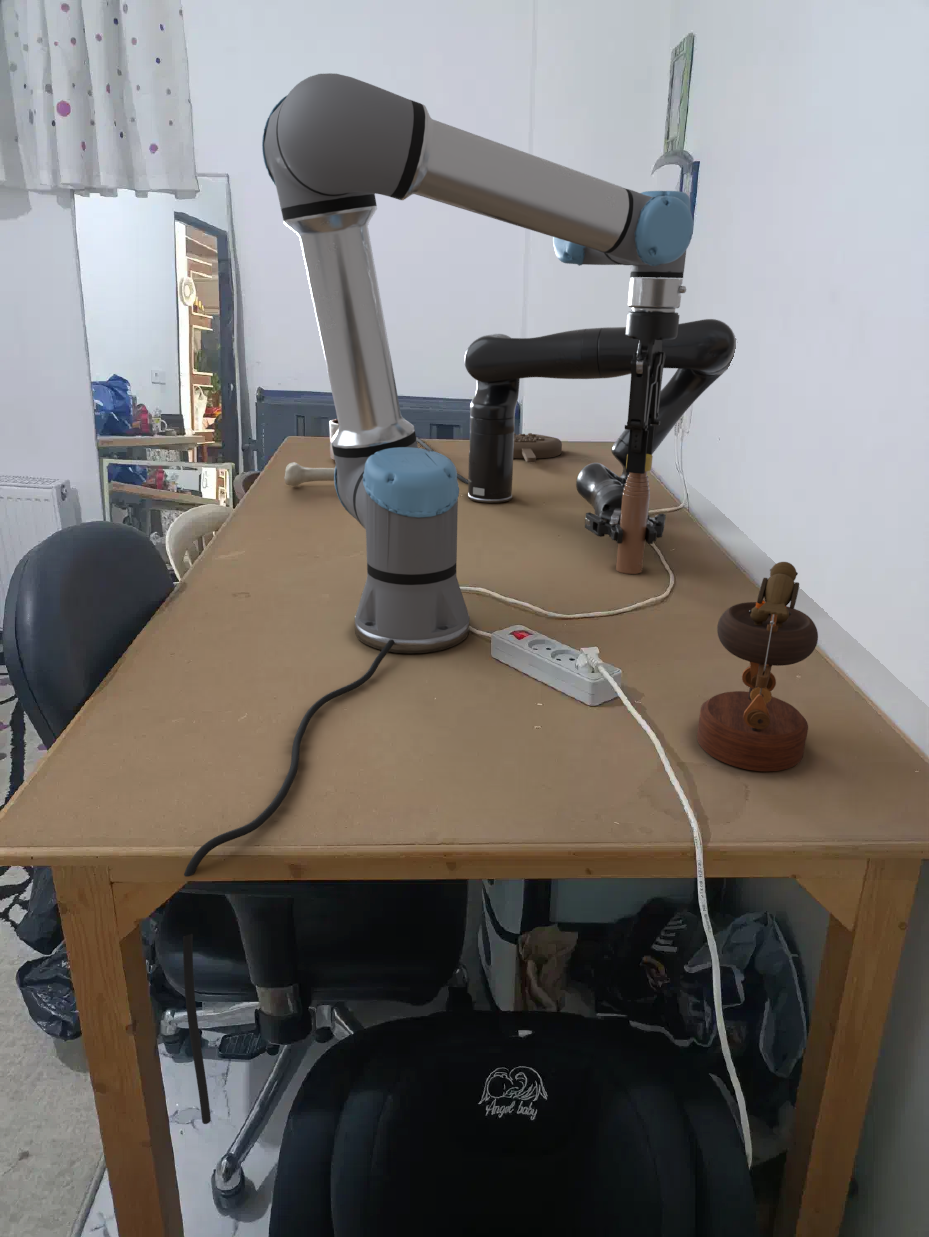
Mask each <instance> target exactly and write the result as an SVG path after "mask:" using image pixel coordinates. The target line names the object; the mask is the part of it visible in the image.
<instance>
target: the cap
mask: <svg viewBox="0 0 929 1237" xmlns="http://www.w3.org/2000/svg"><path fill="white" fill-rule="evenodd" d="M653 456H654V455H653V454H652V455H650V454H646V464H645V472H646V471H647V472H650V471H652V467H653ZM627 457H628V454H627ZM626 468H627V462H626Z"/></svg>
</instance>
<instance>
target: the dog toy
mask: <svg viewBox="0 0 929 1237" xmlns="http://www.w3.org/2000/svg"><path fill="white" fill-rule="evenodd" d="M334 471H335V467H307V466H302V465H300V464H299V463H298V462H295V461H293V462H290V463H288V464H287V465H286V467H285V470H284V477H283V478H284V483H285V485H286V486H290V487H291V486H292V487H294V486H295V487H296V486H298V485H301V484H303V483H310V482H334Z"/></svg>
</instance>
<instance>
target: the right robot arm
mask: <svg viewBox="0 0 929 1237" xmlns="http://www.w3.org/2000/svg"><path fill="white" fill-rule="evenodd" d="M625 333H626V326H613V327H611V326H610V327H609V326H608V327H607V326H605V327H592V328H590V327H589V328H580V329H573V330H572V329H571V330H565V331H561V332H555V333H551V334H547V335H542V336H537V337H522V338H521V337H511V336H509V335H507V334H504V333H492V334H485V335H482V336H479V337H478V338H476V339H474V340H473V341H472V342H471V343H470V345H469V346H468V348H467V349H466V351H465V353H464V358H463V361H464V362H463V363H464V367H465V370H466V372H467V373H468V374H469V375H470V376H471V377H472V379H474V380H475V381H476V389H475V393H474V396H473V398H472V399H471V401H470V405H469V443H468V444H469V446H468V447H469V451H468V476H467V477H468V478H465V477H464V476H463V475H461V474H460V473H458V472H457V480H459V481H461V482H462V483H464V484H465V485H467V498H468V499H469V500H470V501H473V502H478V503H484V504H500V503H506V502H509V501H511V500H512V499H513V472H514V471H513V470H514V458H513V448H514V433H515V420H516V416H515V415H516V407H517V405H518V400H519V394H520V381H521V379H531V378H543V379H559V380H561V379H562V380H594V379H595V380H596V379H597V380H598V379H599V380H600V379H611V378H618V377H624V376H628V375H631V361H632V359H633V356H634V352H637V350H638V344H639V340H638V339H631V338H628V337H627V336H626V334H625ZM735 337H736V335H735V332H734V331H733V328H731V327H730V325H728V324H727V323H726V322H724V321H722V320H719V319H716V318H705V319H699V320H698V319H697V320H692V321H688V322H682V323H679V325H678V335H677V337H676V338H675V339H672V340H662V352H665V356H666V358H665V361H664V367H663V369H676V371H675V372H674V374H673V375H672V377H671V378H670V380H669V381H668V382H667V383H666V384H665V385H664V387H663V388H661V393H660V403H659V412H658V413H659V416H658V418H657V419H656V420H660V425H652V426H655V428H654V438H653V448H652V455H653V454H654V453H655V452H656V451H657V449H658V448H659V447H660V445H662V442H663V441H665V439H666V438H667V436H668V435H669V433H670V432H671V431H672V429H674V427H675V426H676V424H677V423H678V422H679V421H680V419H681V418H682V417H683V415H684V414H685V413H686V412H687V411H688V410H689V408H690V407H691V406H692V405H693V404H694V403H695V402H696V401H697V399H698V398H699V397H700V396H701V395H702V394H703V393H704V392H705V391H706V390H707V389H708V388H709V387H710V386H712V385H713V384H714V382H715V381H717V380H718V379H719V378H720V377H721V376H722V375H723V374H724V373H725V372H727V370H729V369H728V367H729V366H730V363H731V361H732V359H733V357H734V353H735V349H736V340H737V338H735ZM629 434H630V430H628V429H625V428H624V430H623V431H622V432H621V434H620V435H619V437H617V439H616V440H615V442H614V443H613V445H612V447H611V454H612V455H613V457H614V458H615V459H616V460H617V461H618V462H619V463H620V465H621V466H622V473H621V475H618V474H616V473H615V472H614V471H612V470H611V469H610V468H608V467H607V466H605V465H604V464H602V463H600V462H591V463H589V464H587V465H585V466H584V467H583V468H582V469H581V470H580V471H579V473H578V475H577V477H576V481H575V488H576V491H577V494H579V495H580V497H581V498H583V499H584V500H585V501H586V502H587V503H588V504H590V505H591V506H592V508H593V511H594V513H593V512H586V513H585V517H584V518H585V519H584V528H585V529H586V530H588V531H589V532H591V533H593V534H594V535H595V536H597V537H599V538H602V537H605V535H607V536H608V538H610V539H611V541H614V542H616V544H618V543H619V544H622V537H623V530H622V528H621V527H620V516H621V505H622V494H623V488H624V487H625V483H626V480H627V476H628V475H629V472H626V462H627V454H628V445H629ZM416 440H417V443H418V444H420V445H421V446H422V448H424V449H426V450H428V451H430V452H431V451H434V449H432V448H431V447H430V446H429V445H427V443H426V442H424V441H423V440H422V439H420V438H419V437H417V436H416ZM665 525H666V514H665V513H659V514H657V515H655V516H654V517H651V516H650V515H649V514H648V519H647V529H646V539H645V543H646V544H647V545H654V542H657V538H658V539H660V538H662V537H663V534H664V531H665Z"/></svg>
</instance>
